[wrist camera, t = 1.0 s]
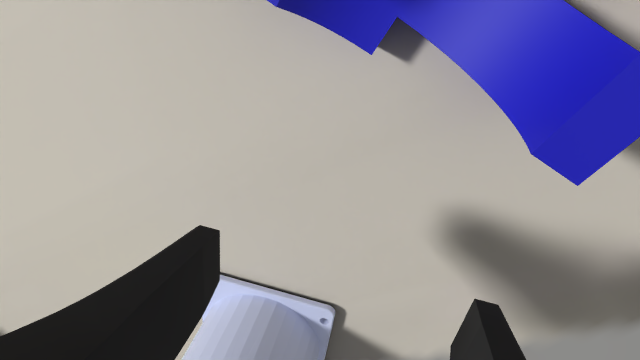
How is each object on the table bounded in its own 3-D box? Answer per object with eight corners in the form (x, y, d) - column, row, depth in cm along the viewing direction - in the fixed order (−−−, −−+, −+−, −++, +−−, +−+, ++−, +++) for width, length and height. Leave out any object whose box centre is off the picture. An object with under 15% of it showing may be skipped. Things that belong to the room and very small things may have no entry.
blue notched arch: (241, -49, 15) (145, -35, 10) (298, -193, 13) (209, -268, 8) (502, 131, 16) (531, 222, 11) (601, 31, 14) (694, 93, 9)
